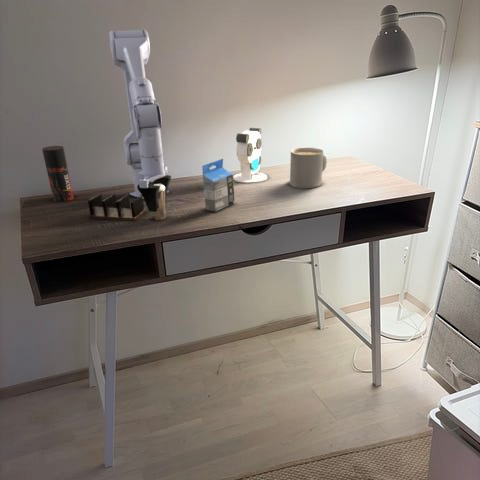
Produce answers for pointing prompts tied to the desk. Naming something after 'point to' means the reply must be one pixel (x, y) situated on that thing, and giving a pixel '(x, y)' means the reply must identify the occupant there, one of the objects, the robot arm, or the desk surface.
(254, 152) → the panda figurine
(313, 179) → the coffee mug
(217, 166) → the label tape box
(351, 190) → the desk surface
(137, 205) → the letter rack
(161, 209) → the milkshake
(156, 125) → the robot arm
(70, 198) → the deodorant
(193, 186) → the desk surface
